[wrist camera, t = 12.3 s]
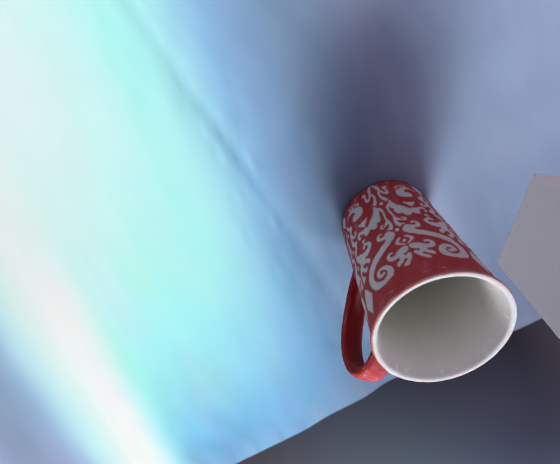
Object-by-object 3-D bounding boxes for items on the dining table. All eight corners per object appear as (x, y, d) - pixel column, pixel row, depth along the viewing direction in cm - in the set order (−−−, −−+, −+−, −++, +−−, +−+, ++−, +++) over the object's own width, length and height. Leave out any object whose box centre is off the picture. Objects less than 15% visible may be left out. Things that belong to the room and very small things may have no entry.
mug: (379, 147, 39) (445, 248, 28) (460, 202, 43) (548, 312, 31) (283, 263, 44) (306, 388, 33) (363, 304, 48) (408, 430, 36)
